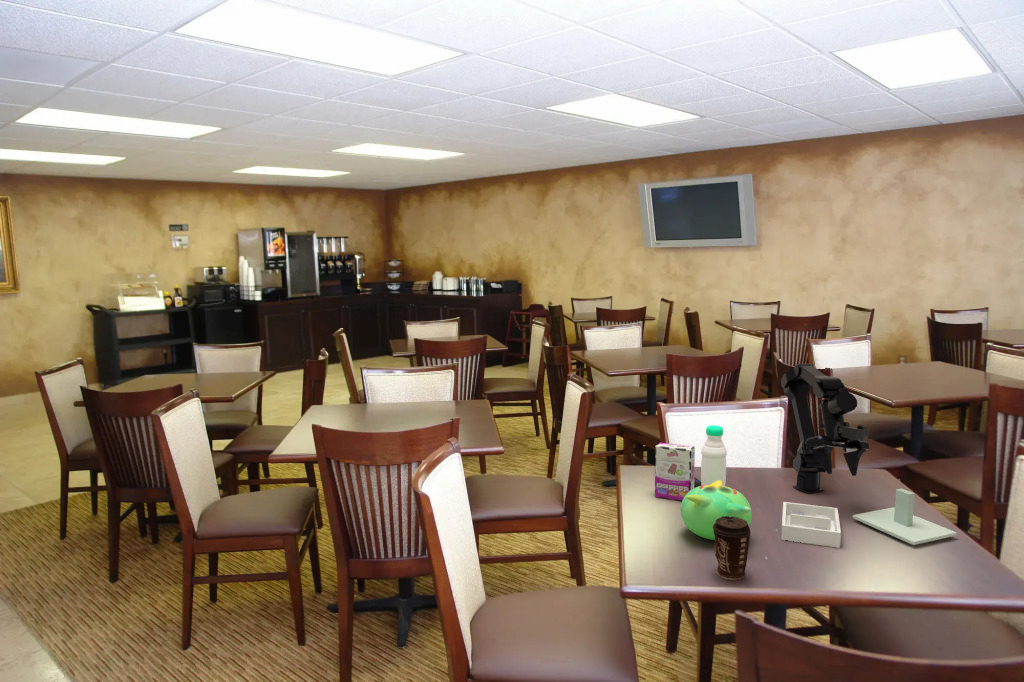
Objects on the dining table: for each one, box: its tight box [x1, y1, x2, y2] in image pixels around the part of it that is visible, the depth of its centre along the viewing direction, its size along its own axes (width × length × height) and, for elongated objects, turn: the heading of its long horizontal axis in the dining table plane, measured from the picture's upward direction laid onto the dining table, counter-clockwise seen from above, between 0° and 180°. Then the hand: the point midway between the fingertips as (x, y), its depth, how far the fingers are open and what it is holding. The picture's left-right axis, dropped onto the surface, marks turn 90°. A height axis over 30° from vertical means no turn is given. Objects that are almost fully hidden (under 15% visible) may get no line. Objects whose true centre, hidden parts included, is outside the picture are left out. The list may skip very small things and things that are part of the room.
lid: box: [852, 488, 958, 546], centre depth 190 cm, size 15×19×11 cm
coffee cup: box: [713, 516, 751, 581], centre depth 166 cm, size 9×8×13 cm
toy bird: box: [680, 480, 753, 541], centre depth 186 cm, size 18×17×15 cm
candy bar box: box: [654, 442, 696, 502], centre depth 216 cm, size 11×5×16 cm, turn 62°
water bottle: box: [700, 424, 728, 486], centre depth 205 cm, size 7×7×25 cm
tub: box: [780, 501, 842, 549], centre depth 191 cm, size 14×18×4 cm
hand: (842, 474), depth 198 cm, fingers open, 9 cm apart
